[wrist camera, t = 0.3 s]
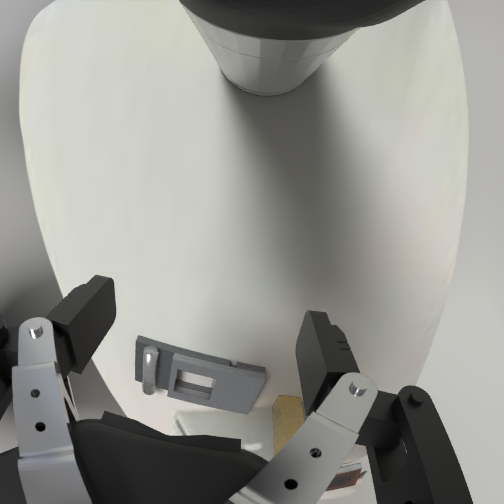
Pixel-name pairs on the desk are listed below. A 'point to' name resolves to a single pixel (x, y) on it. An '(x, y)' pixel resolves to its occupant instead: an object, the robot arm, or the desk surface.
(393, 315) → the desk surface
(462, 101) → the desk surface
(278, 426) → the pine wood offcut
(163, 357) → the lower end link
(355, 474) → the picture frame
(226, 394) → the upper end link
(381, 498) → the robot arm
